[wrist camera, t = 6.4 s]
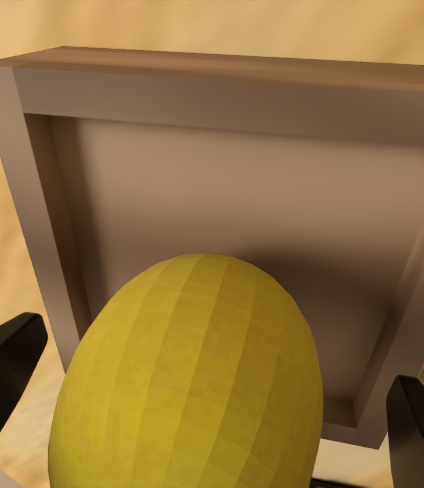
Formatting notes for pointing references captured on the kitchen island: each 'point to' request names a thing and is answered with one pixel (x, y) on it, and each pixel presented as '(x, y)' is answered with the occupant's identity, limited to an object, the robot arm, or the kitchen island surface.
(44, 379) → the kitchen island surface
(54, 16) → the kitchen island surface
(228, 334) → the lemon
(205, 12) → the kitchen island surface
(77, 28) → the kitchen island surface
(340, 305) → the walnut base
